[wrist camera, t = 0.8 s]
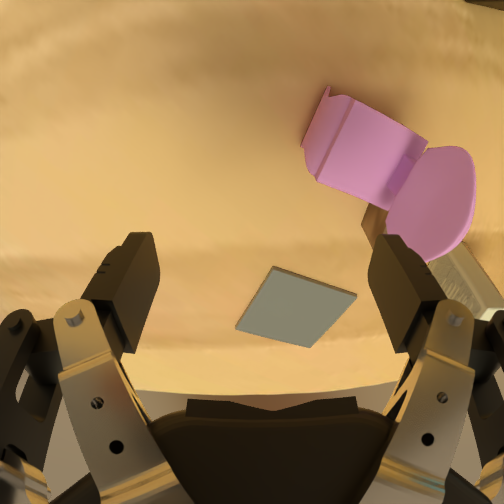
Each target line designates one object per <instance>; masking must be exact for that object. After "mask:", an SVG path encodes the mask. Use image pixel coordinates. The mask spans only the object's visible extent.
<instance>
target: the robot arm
mask: <svg viewBox="0 0 504 504" xmlns="http://www.w3.org/2000/svg"><path fill="white" fill-rule="evenodd" d="M159 282H160V267H159V262H158V258H157V253H156V248H155V243H154V238H153V235H152V233H151V232H131V233H129V235H128V236H127V238H126V239H125V241H124V243H123V244H122V246H117V247H116V248H114V249H113V250H112V251H111V252H109V253H108V254H107V255H106V257H105V258H104V260H103V262H102V263H101V265H100V266H99V268H98V270H97V273H95V274H94V276H93V278H92V279H91V281H90V283H89V284H88V286H87V288H86V289H85V291H84V293H83V295H82V296H81V298H80V299H76V300H72V301H70V302H68V303H66V304H64V305H63V306H62V307H60V308H59V310H58V311H57V312H56V314H55V316H54V318H51V319H45V320H39V321H36V320H35V319H34V317H33V315H32V314H31V312H30V311H29V310H26V309H19V310H16V311H14V312H12V313H10V314H9V315H8V316H7V317H6V318H5V319H4V320H3V321H2V323H1V325H0V504H504V400H503V398H502V395H501V392H500V390H499V387H498V384H497V382H496V379H495V377H494V374H495V372H496V371H497V370H498V369H499V368H500V366H501V367H502V370H503V372H504V310H498V311H496V312H495V313H494V315H493V316H492V318H491V320H490V321H485V320H480V319H475V318H474V317H473V314H472V313H471V311H470V310H469V309H468V308H467V307H466V306H465V305H464V304H462V303H460V302H458V301H456V300H452V299H448V298H447V296H446V294H445V293H444V291H443V289H442V288H441V286H440V285H439V283H438V282H437V280H436V278H435V277H434V275H432V272H431V271H430V269H429V268H428V267H427V265H426V263H425V262H424V260H423V259H422V257H421V256H420V255H419V254H417V253H416V252H415V251H414V250H412V249H411V248H408V247H407V245H406V244H405V242H404V241H403V240H402V238H401V237H400V235H398V234H379V235H378V236H377V238H376V241H375V245H374V249H373V253H372V257H371V261H370V265H369V269H368V283H369V286H370V289H371V291H372V294H373V296H374V298H375V301H376V303H377V306H378V308H379V311H380V313H381V316H382V319H383V321H384V324H385V326H386V329H387V332H388V334H389V337H390V340H391V342H392V345H393V348H394V351H395V354H396V353H404V352H408V354H409V358H408V360H407V362H406V364H405V366H404V368H403V371H402V373H401V375H400V378H399V380H398V383H397V385H396V387H395V389H394V391H393V394H392V396H391V398H390V400H389V402H388V404H387V406H386V407H385V409H384V411H383V412H382V414H380V413H378V412H375V411H372V410H369V409H365V408H360V407H358V406H357V401H356V397H355V396H353V397H343V398H334V399H321V400H314V401H310V402H307V403H304V404H300V405H297V406H293V407H289V408H285V409H282V410H277V411H269V410H264V409H259V408H255V407H251V406H246V405H242V404H238V403H234V402H230V401H213V400H198V399H188V401H187V407H186V410H181V411H177V412H173V413H170V414H167V415H164V416H162V417H160V418H158V419H156V420H154V421H152V420H151V418H150V416H149V415H148V413H147V412H146V410H145V408H144V406H143V404H142V403H141V401H140V399H139V397H138V395H137V393H136V391H135V389H134V387H133V385H132V383H131V381H130V379H129V377H128V375H127V373H126V371H125V369H124V367H123V365H122V363H121V361H120V360H121V357H122V354H123V352H124V353H133V354H135V352H136V349H137V346H138V342H139V339H140V336H141V333H142V330H143V327H144V325H145V322H146V319H147V316H148V313H149V310H150V307H151V305H152V302H153V299H154V296H155V293H156V291H157V288H158V285H159ZM24 369H25V370H26V371H27V372H28V373H29V377H28V379H27V382H26V384H25V387H24V389H23V392H22V395H21V397H20V400H19V403H18V402H17V400H16V394H15V392H16V387H17V384H18V382H19V380H20V377H21V375H22V373H23V370H24ZM62 396H63V398H64V401H65V405H66V408H67V411H68V414H69V418H70V421H71V424H72V426H73V430H74V432H75V435H76V438H77V441H78V443H79V446H80V449H81V451H82V453H83V456H84V459H85V461H86V464H87V465H88V468H89V470H90V472H89V473H88V474H87V475H85V476H84V477H83V478H82V479H80V480H79V481H78V482H76V483H75V484H74V485H73V486H71V487H70V488H69V489H67V490H66V491H65V492H63V493H62V494H61V495H59V496H58V497H56V498H55V499H54V500H52V501H51V502H50V503H49V502H48V500H49V499H50V497H51V490H50V488H49V487H48V486H47V483H46V479H45V477H44V475H43V474H42V472H43V467H44V463H45V458H46V454H47V450H48V446H49V442H50V438H51V434H52V430H53V426H54V423H55V419H56V416H57V412H58V409H59V405H60V402H61V399H62ZM467 411H468V414H469V417H470V420H471V424H472V428H473V432H474V436H475V439H476V443H477V448H478V452H479V456H480V460H481V465H482V472H481V475H480V479H478V480H477V481H476V483H475V485H474V486H473V485H472V484H471V483H470V482H468V481H467V480H466V479H464V478H463V477H462V476H461V475H459V474H458V473H457V472H455V471H454V470H453V469H452V468H450V466H451V463H452V460H453V458H454V455H455V452H456V449H457V446H458V442H459V439H460V436H461V432H462V429H463V425H464V422H465V418H466V414H467Z"/></svg>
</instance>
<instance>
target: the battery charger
mask: <svg viewBox="0 0 504 504" xmlns="http://www.w3.org/2000/svg"><path fill="white" fill-rule="evenodd" d="M465 1H466V2H468V3H473V4H478V5H482V6H487V7H491V8H495V9H499V10H503V11H504V0H465Z"/></svg>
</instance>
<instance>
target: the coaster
mask: <svg viewBox="0 0 504 504" xmlns="http://www.w3.org/2000/svg"><path fill="white" fill-rule="evenodd" d="M356 299H357V294H355V293H352V292H349V291H346V290H343V289H340V288H337V287H334V286H331V285H328V284H325V283H322V282H319V281H316V280H313V279H310V278H307V277H304V276H301V275H298V274H295V273H292V272H289V271H286V270H283V269H281V268H278V267H275V266H273V267H272V269H271V270H270V272H269V273H268V275H267V277H266V278H265V280H264V281H263V283H262V285H261V286H260V288H259V289H258V291H257V293H256V294H255V296H254V297H253V299H252V301H251V302H250V304H249V305H248V307H247V309H246V310H245V312H244V313H243V315H242V316H241V318H240V320H239V321H238V323H237V324H236V326H235V329H236V330H239V331H243V332H247V333H250V334H254V335H258V336H262V337H266V338H270V339H274V340H278V341H282V342H286V343H290V344H294V345H299V346H303V347H307V348H311V347H312V346H313V345H314V344H315V343H316V342H317V340H318V339H319V338H320V337H321V336H322V335H323V334H324V333H325V332H326V331H327V330H328V329H329V328H330V327H331V326H332V325H333V324H334V323H335V322H336V321H337V319H338V318H339V317H340V316H341V315H342V314H343V313H344V312H345V311H346V310H347V309H348V307H349V306H350V305H351V304H352V303H353V302H354V301H355V300H356Z"/></svg>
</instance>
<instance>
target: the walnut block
mask: <svg viewBox="0 0 504 504" xmlns="http://www.w3.org/2000/svg"><path fill="white" fill-rule="evenodd" d="M389 210H390V209H389ZM388 213H389V211H387V210H384V209H382V208H380V207H378V206H375V205H373V204H371V203H369V204H368V207H367V210H366V213H365V215H364V218H363V221H362V223H361V226H362V228H363V230H364V232H365V234H366V236H367V238H368V240H369V242H370V244H371V246H372V249H374V245H375V241H376V238H377V236H378V235H379V234H388V233H387V227H386V222H385V220H386V218H387V215H388Z"/></svg>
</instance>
